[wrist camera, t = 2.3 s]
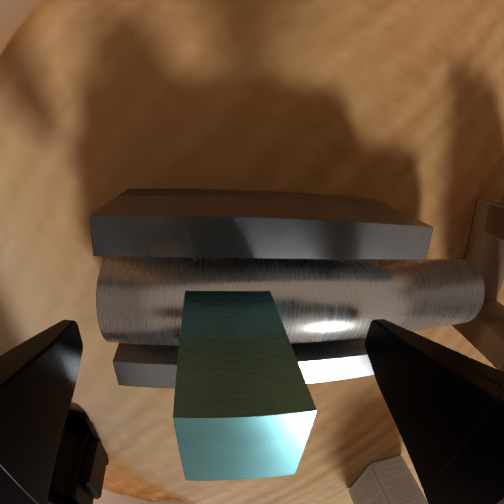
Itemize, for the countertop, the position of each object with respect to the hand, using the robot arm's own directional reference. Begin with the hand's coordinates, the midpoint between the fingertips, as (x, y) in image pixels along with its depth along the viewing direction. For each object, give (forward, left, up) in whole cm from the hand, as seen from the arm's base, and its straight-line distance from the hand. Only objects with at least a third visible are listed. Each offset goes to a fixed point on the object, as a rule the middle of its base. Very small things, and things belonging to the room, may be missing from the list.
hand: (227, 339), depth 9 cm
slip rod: (+4, 0, -4) cm, 5 cm away
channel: (+2, 0, -6) cm, 6 cm away
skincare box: (+16, -24, -6) cm, 29 cm away
